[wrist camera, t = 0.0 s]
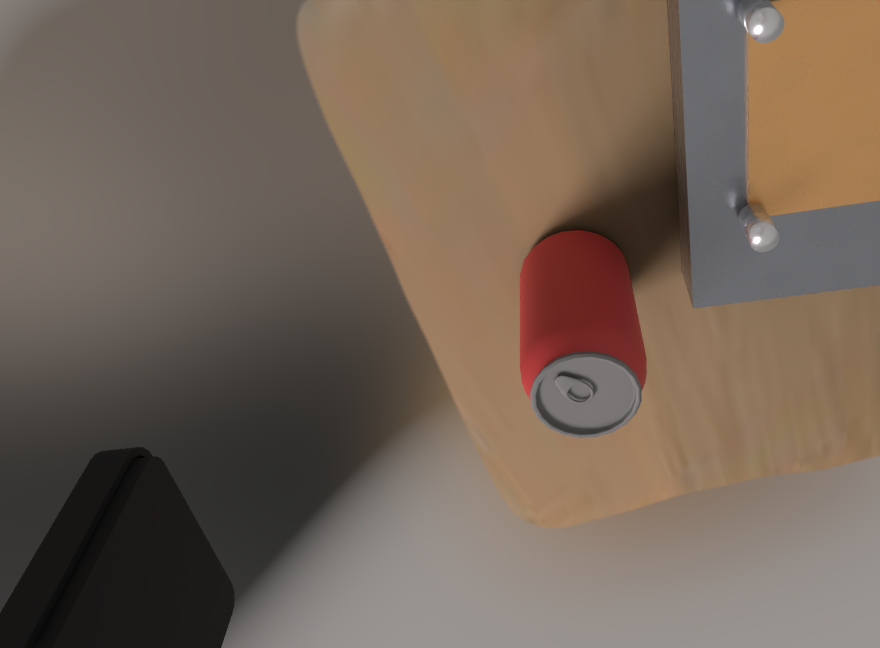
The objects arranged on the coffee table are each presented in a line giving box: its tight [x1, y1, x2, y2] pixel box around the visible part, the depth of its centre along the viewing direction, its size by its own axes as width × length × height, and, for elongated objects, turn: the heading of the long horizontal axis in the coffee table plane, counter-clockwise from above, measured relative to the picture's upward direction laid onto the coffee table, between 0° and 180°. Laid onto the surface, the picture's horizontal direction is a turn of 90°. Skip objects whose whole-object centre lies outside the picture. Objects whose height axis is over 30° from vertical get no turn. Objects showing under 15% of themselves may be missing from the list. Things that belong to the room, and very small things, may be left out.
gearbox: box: [667, 0, 880, 308], centre depth 39 cm, size 25×17×7 cm
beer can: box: [520, 230, 646, 438], centre depth 46 cm, size 7×7×12 cm
